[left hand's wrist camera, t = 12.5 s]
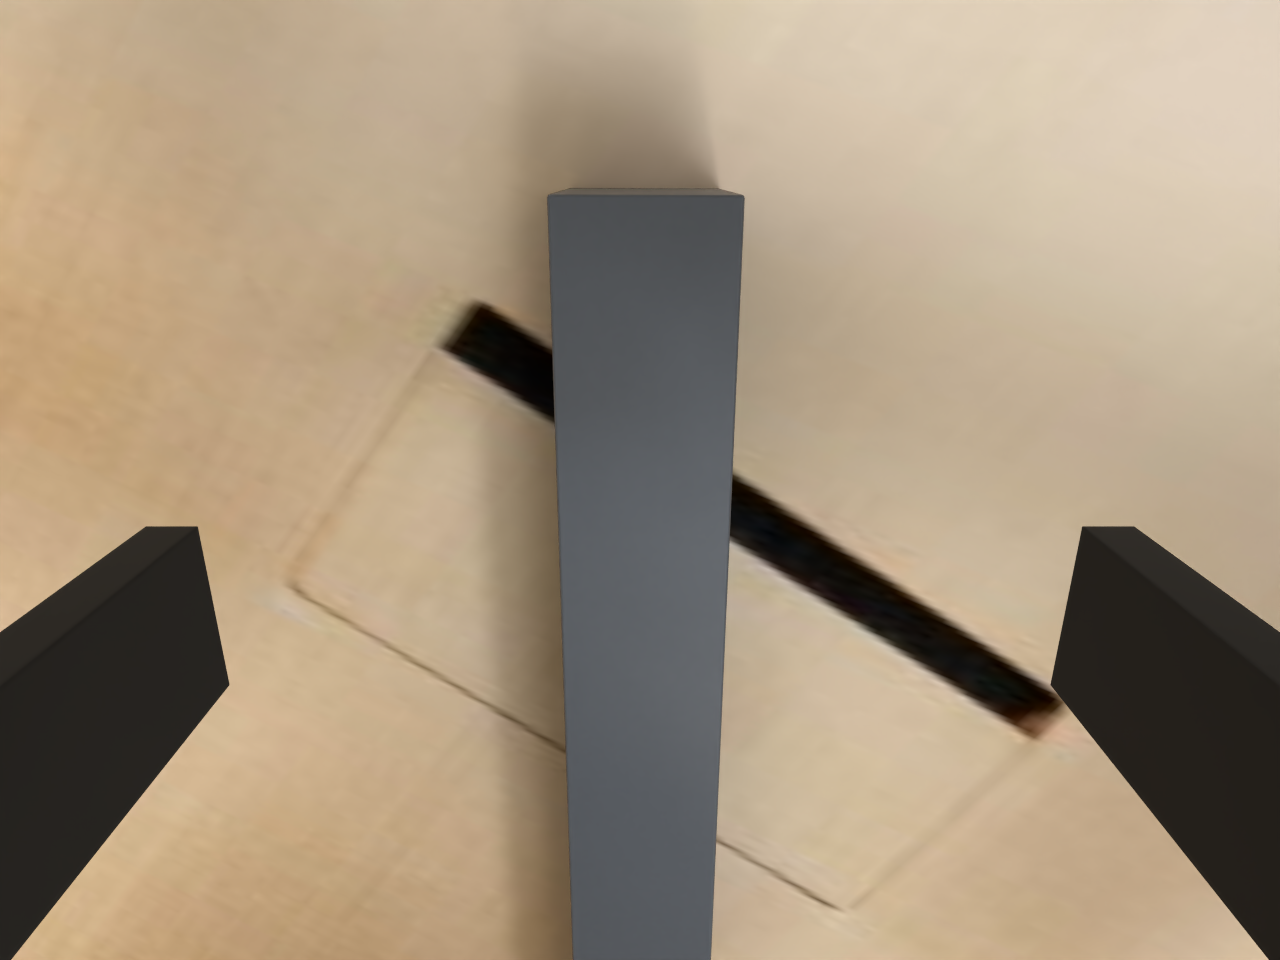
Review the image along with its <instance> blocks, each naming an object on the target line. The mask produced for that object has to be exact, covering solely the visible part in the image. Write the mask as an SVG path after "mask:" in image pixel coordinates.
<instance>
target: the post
mask: <svg viewBox="0 0 1280 960" xmlns="http://www.w3.org/2000/svg"><path fill="white" fill-rule="evenodd" d="M744 200H745V198H744V196H743V195H740V194H737V193H733V192H729V191H725V190H721V189H636V188H570V189H566V190H563V191H559V192H556V193H553V194H550V195H548V197H547V206H548V235H549V265H550V295H551V325H552V354H553V384H554V414H555V444H556V473H557V503H558V533H559V563H560V592H561V622H562V652H563V682H564V711H565V741H566V771H567V800H568V830H569V860H570V890H571V919H572V949H573V960H711V944H712V921H713V899H714V876H715V854H716V831H717V809H718V786H719V763H720V741H721V718H722V696H723V673H724V651H725V628H726V606H727V583H728V561H729V538H730V515H731V493H732V470H733V448H734V425H735V403H736V380H737V358H738V335H739V313H740V290H741V268H742V245H743V222H744Z"/></svg>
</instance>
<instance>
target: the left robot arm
mask: <svg viewBox="0 0 1280 960" xmlns="http://www.w3.org/2000/svg"><path fill="white" fill-rule="evenodd" d="M228 686H229V680H228V675H227V670H226V665H225V660H224V655H223V650H222V645H221V641H220V636H219V631H218V626H217V621H216V616H215V611H214V606H213V601H212V596H211V591H210V586H209V581H208V576H207V571H206V566H205V561H204V556H203V551H202V546H201V541H200V536H199V531H198V527H145V528H143V529H142V530H141V531H139V532H138V533H136V534H135V535H134V536H132V537H131V538H130V539H128V540H127V541H125V542H124V543H123V544H121V545H120V546H119V547H117V548H116V549H114V550H113V551H112V552H110V553H109V554H107V555H106V556H105V557H103V558H102V559H101V560H99V561H98V562H96V563H95V564H94V565H92V566H91V567H90V568H88V569H87V570H85V571H84V572H83V573H81V574H80V575H79V576H77V577H76V578H74V579H73V580H72V581H70V582H69V583H68V584H66V585H65V586H63V587H62V588H61V589H59V590H58V591H56V592H55V593H54V594H52V595H51V596H50V597H48V598H47V599H45V600H44V601H43V602H41V603H40V604H39V605H37V606H36V607H34V608H33V609H32V610H30V611H29V612H28V613H26V614H25V615H23V616H22V617H21V618H19V619H18V620H17V621H15V622H14V623H12V624H11V625H10V626H8V627H7V628H6V629H4V630H3V631H1V632H0V960H11V959H12V958H13V957H14V955H15V954H16V953H17V952H18V950H19V949H20V948H21V947H22V945H23V944H24V943H25V942H26V940H27V939H28V938H29V936H30V935H31V934H32V933H33V931H34V930H35V929H36V928H37V926H38V925H39V924H40V923H41V921H42V920H43V919H44V918H45V916H46V915H47V914H48V913H49V911H50V910H51V909H52V908H53V906H54V905H55V904H56V902H57V901H58V900H59V899H60V897H61V896H62V895H63V894H64V892H65V891H66V890H67V889H68V887H69V886H70V885H71V884H72V882H73V881H74V880H75V879H76V877H77V876H78V875H79V874H80V872H81V871H82V870H83V869H84V867H85V866H86V865H87V863H88V862H89V861H90V860H91V858H92V857H93V856H94V855H95V853H96V852H97V851H98V850H99V848H100V847H101V846H102V845H103V843H104V842H105V841H106V840H107V838H108V837H109V836H110V835H111V833H112V832H113V831H114V829H115V828H116V827H117V826H118V824H119V823H120V822H121V821H122V819H123V818H124V817H125V816H126V814H127V813H128V812H129V811H130V809H131V808H132V807H133V806H134V804H135V803H136V802H137V801H138V799H139V798H140V797H141V796H142V794H143V793H144V792H145V790H146V789H147V788H148V787H149V785H150V784H151V783H152V782H153V780H154V779H155V778H156V777H157V775H158V774H159V773H160V772H161V770H162V769H163V768H164V767H165V765H166V764H167V763H168V762H169V760H170V759H171V758H172V756H173V755H174V754H175V753H176V751H177V750H178V749H179V748H180V746H181V745H182V744H183V743H184V741H185V740H186V739H187V738H188V736H189V735H190V734H191V733H192V731H193V730H194V729H195V728H196V726H197V725H198V724H199V723H200V721H201V720H202V719H203V717H204V716H205V715H206V714H207V712H208V711H209V710H210V709H211V707H212V706H213V705H214V704H215V702H216V701H217V700H218V699H219V697H220V696H221V695H222V694H223V692H224V691H225V690H226V689H227V687H228ZM1051 686H1052V687H1053V689H1054V690H1055V691H1056V692H1057V694H1058V695H1059V696H1060V697H1061V699H1062V700H1063V701H1064V702H1065V704H1066V705H1067V706H1068V707H1069V709H1070V710H1071V711H1072V712H1073V714H1074V715H1075V716H1076V717H1077V719H1078V720H1079V721H1080V723H1081V724H1082V725H1083V726H1084V728H1085V729H1086V730H1087V731H1088V733H1089V734H1090V735H1091V736H1092V738H1093V739H1094V740H1095V741H1096V743H1097V744H1098V745H1099V746H1100V748H1101V749H1102V750H1103V751H1104V753H1105V754H1106V755H1107V756H1108V758H1109V759H1110V760H1111V762H1112V763H1113V764H1114V765H1115V767H1116V768H1117V769H1118V770H1119V772H1120V773H1121V774H1122V775H1123V777H1124V778H1125V779H1126V780H1127V782H1128V783H1129V784H1130V785H1131V787H1132V788H1133V789H1134V790H1135V792H1136V793H1137V794H1138V796H1139V797H1140V798H1141V799H1142V801H1143V802H1144V803H1145V804H1146V806H1147V807H1148V808H1149V809H1150V811H1151V812H1152V813H1153V814H1154V816H1155V817H1156V818H1157V819H1158V821H1159V822H1160V823H1161V824H1162V826H1163V827H1164V828H1165V829H1166V831H1167V832H1168V833H1169V835H1170V836H1171V837H1172V838H1173V840H1174V841H1175V842H1176V843H1177V845H1178V846H1179V847H1180V848H1181V850H1182V851H1183V852H1184V853H1185V855H1186V856H1187V857H1188V858H1189V860H1190V861H1191V862H1192V863H1193V865H1194V866H1195V867H1196V869H1197V870H1198V871H1199V872H1200V874H1201V875H1202V876H1203V877H1204V879H1205V880H1206V881H1207V882H1208V884H1209V885H1210V886H1211V887H1212V889H1213V890H1214V891H1215V892H1216V894H1217V895H1218V896H1219V897H1220V899H1221V900H1222V901H1223V902H1224V904H1225V905H1226V906H1227V908H1228V909H1229V910H1230V911H1231V913H1232V914H1233V915H1234V916H1235V918H1236V919H1237V920H1238V921H1239V923H1240V924H1241V925H1242V926H1243V928H1244V929H1245V930H1246V931H1247V933H1248V934H1249V935H1250V936H1251V938H1252V939H1253V940H1254V942H1255V943H1256V944H1257V945H1258V947H1259V948H1260V949H1261V950H1262V952H1263V953H1264V954H1265V955H1266V957H1267V958H1268V959H1269V960H1280V632H1279V631H1277V630H1276V629H1274V628H1273V627H1272V626H1270V625H1269V624H1268V623H1266V622H1265V621H1263V620H1262V619H1261V618H1259V617H1258V616H1257V615H1255V614H1254V613H1252V612H1251V611H1250V610H1248V609H1247V608H1246V607H1244V606H1243V605H1241V604H1240V603H1239V602H1237V601H1236V600H1235V599H1233V598H1232V597H1230V596H1229V595H1228V594H1226V593H1225V592H1224V591H1222V590H1221V589H1219V588H1218V587H1217V586H1215V585H1214V584H1212V583H1211V582H1210V581H1208V580H1207V579H1206V578H1204V577H1203V576H1201V575H1200V574H1199V573H1197V572H1196V571H1195V570H1193V569H1192V568H1190V567H1189V566H1188V565H1186V564H1185V563H1184V562H1182V561H1181V560H1179V559H1178V558H1177V557H1175V556H1174V555H1173V554H1171V553H1170V552H1168V551H1167V550H1166V549H1164V548H1163V547H1161V546H1160V545H1159V544H1157V543H1156V542H1155V541H1153V540H1152V539H1150V538H1149V537H1148V536H1146V535H1145V534H1144V533H1142V532H1141V531H1139V530H1138V529H1137V528H1135V527H1082V531H1081V536H1080V541H1079V546H1078V551H1077V556H1076V561H1075V566H1074V571H1073V576H1072V581H1071V586H1070V591H1069V596H1068V601H1067V606H1066V611H1065V616H1064V621H1063V626H1062V631H1061V636H1060V641H1059V645H1058V650H1057V655H1056V660H1055V665H1054V670H1053V675H1052V680H1051Z"/></svg>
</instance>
